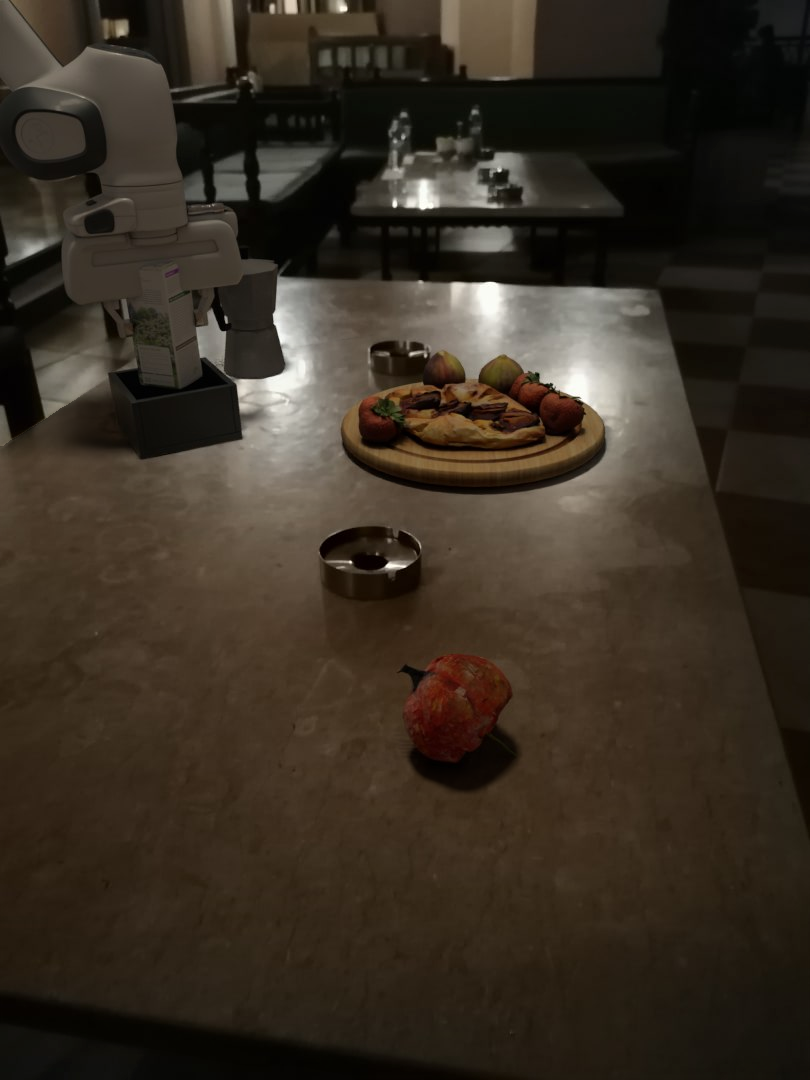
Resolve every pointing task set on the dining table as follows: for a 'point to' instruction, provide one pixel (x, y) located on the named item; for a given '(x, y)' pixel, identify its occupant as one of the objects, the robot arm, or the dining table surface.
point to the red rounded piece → (454, 705)
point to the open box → (176, 412)
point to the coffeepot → (250, 320)
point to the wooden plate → (473, 427)
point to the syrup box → (164, 329)
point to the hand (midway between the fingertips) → (163, 331)
